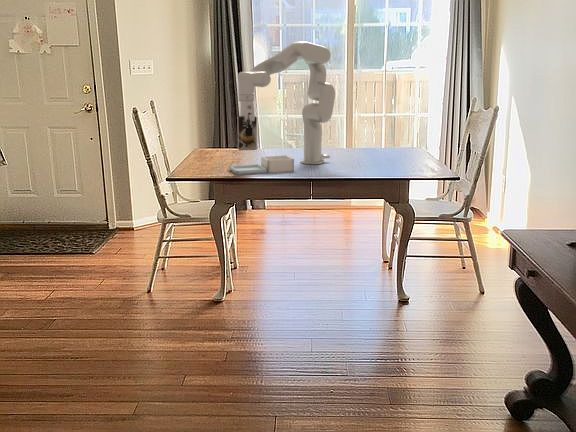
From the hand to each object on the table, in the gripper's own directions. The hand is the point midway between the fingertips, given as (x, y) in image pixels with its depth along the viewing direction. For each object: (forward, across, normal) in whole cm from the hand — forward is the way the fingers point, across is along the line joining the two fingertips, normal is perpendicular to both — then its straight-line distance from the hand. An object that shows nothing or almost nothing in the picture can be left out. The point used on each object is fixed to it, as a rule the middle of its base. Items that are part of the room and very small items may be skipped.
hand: (247, 134), depth 282 cm
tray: (+18, 0, 0) cm, 18 cm away
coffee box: (+7, 0, 0) cm, 7 cm away
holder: (+18, 0, -16) cm, 24 cm away
